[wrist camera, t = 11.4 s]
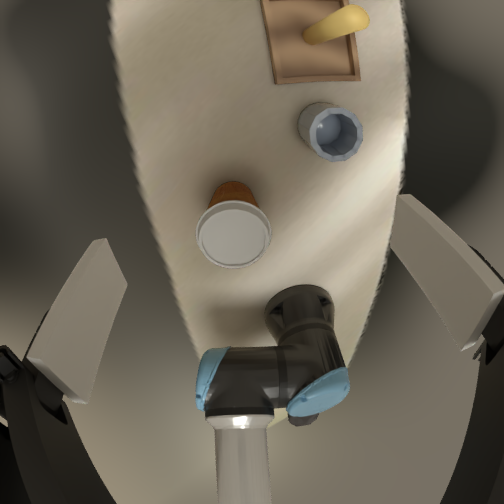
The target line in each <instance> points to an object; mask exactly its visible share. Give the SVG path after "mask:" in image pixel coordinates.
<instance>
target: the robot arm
mask: <svg viewBox="0 0 504 504" xmlns="http://www.w3.org/2000/svg"><path fill="white" fill-rule="evenodd" d="M390 247H391V248H392V250H393V251H394V252H395V253H396V255H397V256H398V257H399V259H400V260H401V261H402V263H403V264H404V265H405V266H406V268H407V269H408V271H409V272H410V274H411V275H412V276H413V278H414V279H415V281H416V282H417V283H418V285H419V286H420V288H421V289H422V290H423V292H424V293H425V295H426V296H427V298H428V299H429V301H430V302H431V304H432V305H433V307H434V308H435V310H436V311H437V313H438V314H439V316H440V317H441V319H442V321H443V322H444V324H445V325H446V327H447V329H448V330H449V332H450V334H451V335H452V337H453V339H454V340H455V342H456V344H457V345H458V347H459V349H460V351H462V350H464V349H466V348H469V347H471V346H473V345H475V343H476V341H477V340H478V338H479V337H480V335H481V334H482V335H483V336H484V338H485V340H484V341H483V343H482V344H481V346H480V347H479V349H478V350H477V351H476V353H475V354H474V357H473V359H476V358H477V356H478V355H479V354H480V353H481V357H480V358H479V361H480V366H479V374H478V381H477V387H476V393H475V398H474V403H473V408H472V413H471V417H470V421H469V425H468V429H467V432H466V436H465V440H464V443H463V446H462V449H461V452H460V455H459V459H458V461H457V464H456V467H455V470H454V472H453V475H452V477H451V480H450V482H449V485H448V487H447V490H446V492H445V494H444V496H443V498H442V500H441V503H440V504H504V279H503V278H502V277H501V276H500V275H499V273H498V272H497V271H496V270H495V269H494V268H493V267H491V265H490V263H489V262H488V261H487V260H485V259H484V257H483V256H482V255H481V254H480V253H479V252H478V251H477V250H476V249H474V248H473V247H471V246H469V245H468V244H466V243H465V242H464V241H463V240H462V239H461V238H460V237H459V236H458V235H457V234H456V233H454V232H453V231H452V230H451V229H450V228H449V227H448V226H447V225H446V224H445V223H444V222H443V221H441V220H440V219H439V218H438V217H437V216H436V215H435V214H434V213H432V212H431V211H430V210H429V209H428V208H427V207H425V206H424V205H423V204H422V203H420V202H419V201H418V200H417V199H415V198H414V197H413V196H412V195H411V194H405V195H397V199H396V207H395V216H394V223H393V230H392V236H391V243H390ZM126 287H127V282H126V280H125V278H124V276H123V274H122V272H121V270H120V268H119V266H118V263H117V261H116V259H115V257H114V255H113V253H112V250H111V248H110V246H109V243H108V241H107V239H106V238H104V239H99V240H94V241H93V242H92V243H91V245H90V246H89V247H88V249H87V250H86V252H85V253H84V255H83V256H82V258H81V259H80V261H79V262H78V264H77V266H76V267H75V268H74V270H73V272H72V273H71V275H70V276H69V278H68V279H67V281H66V283H65V285H64V286H63V288H62V289H61V291H60V293H59V294H58V296H57V298H56V300H55V302H54V303H53V305H52V307H51V308H50V309H49V310H48V311H47V312H46V314H45V315H44V317H43V319H42V321H41V323H40V326H39V327H38V329H37V331H36V333H35V335H34V337H33V339H32V341H31V343H30V345H29V347H28V350H27V351H26V354H25V356H24V358H23V360H22V362H21V361H20V360H19V359H18V357H17V356H16V355H15V354H14V353H13V352H12V351H11V350H10V349H9V347H7V346H6V345H2V346H0V416H1V417H3V418H4V419H6V420H7V422H8V427H6V426H5V425H3V424H2V423H1V422H0V504H116V502H115V501H114V499H113V497H112V496H111V494H110V493H109V491H108V490H107V488H106V486H105V485H104V483H103V481H102V479H101V478H100V476H99V474H98V473H97V470H96V469H95V467H94V465H93V463H92V461H91V459H90V457H89V455H88V453H87V451H86V449H85V447H84V445H83V443H82V441H81V439H80V436H79V434H78V432H77V429H76V427H75V425H74V422H73V420H72V417H71V415H70V412H69V410H68V407H67V405H66V403H65V402H64V401H63V400H62V398H63V395H64V394H65V395H66V396H67V397H68V398H69V399H71V400H72V401H73V402H77V403H83V404H88V403H89V399H90V395H91V391H92V387H93V384H94V380H95V376H96V373H97V370H98V367H99V363H100V360H101V357H102V354H103V351H104V348H105V345H106V342H107V339H108V336H109V333H110V329H111V327H112V324H113V321H114V318H115V316H116V313H117V310H118V308H119V305H120V303H121V300H122V297H123V295H124V292H125V290H126ZM265 321H266V325H267V328H268V329H269V331H270V333H271V334H272V336H273V338H274V339H275V341H276V343H277V345H278V346H268V347H227V348H212V349H209V350H207V351H206V352H205V353H204V354H203V356H202V358H201V361H200V365H199V369H198V374H197V381H196V406H197V408H198V409H199V410H201V411H205V420H206V421H207V422H208V423H209V424H210V425H211V426H212V427H213V428H214V430H215V455H216V477H217V494H218V504H271V489H270V475H269V461H268V448H267V433H266V428H267V426H268V424H269V423H270V422H271V421H272V420H273V419H274V408H286V411H287V412H288V413H289V415H291V416H294V417H295V416H297V417H304V416H309V415H313V414H317V413H320V412H322V411H325V410H327V409H329V408H331V407H333V406H335V405H336V404H338V403H339V402H340V401H342V400H343V399H344V398H345V397H346V395H347V394H348V392H349V390H350V383H349V378H348V373H347V372H348V370H347V368H346V366H345V363H344V360H343V357H342V354H341V351H340V348H339V345H338V342H337V339H336V336H335V333H334V304H333V301H332V299H331V296H330V295H329V293H328V292H327V291H325V290H324V289H322V288H320V287H317V286H312V285H300V286H294V287H291V288H288V289H285V290H283V291H281V292H280V293H278V294H277V295H275V296H274V297H273V298H272V299H271V300H270V301H269V303H268V304H267V306H266V309H265Z"/></svg>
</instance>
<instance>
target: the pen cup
mask: <svg viewBox="0 0 504 504" xmlns="http://www.w3.org/2000/svg"><path fill="white" fill-rule="evenodd" d="M298 131H299V134H300V136H301V138H302V139H303V140H304V141H305V142H306V144H307V145H308V146H309V147H310V148H311V149H312V150H313V151H314V152H315V153H316V154H317V155H318V156H320V157H322V158H324V159H327V160H329V161H331V162H336V161H345V160H347V159H348V158H350V157H351V156H353V155H354V154H356V153H357V151H358V149H359V147H360V145H361V143H362V141H363V130H362V125H361V123H360V122H359V120H358V118H357V117H356V115H355V114H354V113H352V112H350V111H348V110H346V109H344V108H342V107H339V106H336V105H333V104H329V103H314V104H311V105H309V106H308V107H306V108H305V109H304V110H303V111H302V113H301V114H300V116H299V119H298Z"/></svg>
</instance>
